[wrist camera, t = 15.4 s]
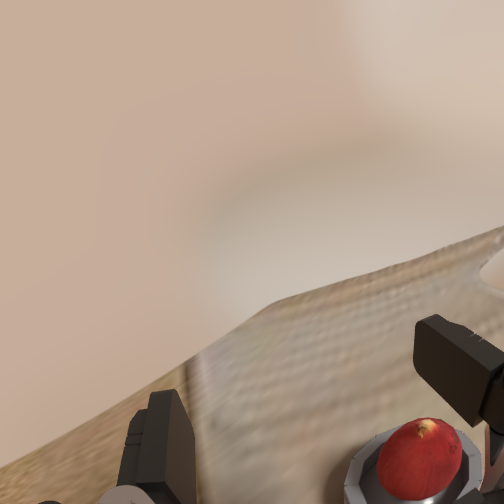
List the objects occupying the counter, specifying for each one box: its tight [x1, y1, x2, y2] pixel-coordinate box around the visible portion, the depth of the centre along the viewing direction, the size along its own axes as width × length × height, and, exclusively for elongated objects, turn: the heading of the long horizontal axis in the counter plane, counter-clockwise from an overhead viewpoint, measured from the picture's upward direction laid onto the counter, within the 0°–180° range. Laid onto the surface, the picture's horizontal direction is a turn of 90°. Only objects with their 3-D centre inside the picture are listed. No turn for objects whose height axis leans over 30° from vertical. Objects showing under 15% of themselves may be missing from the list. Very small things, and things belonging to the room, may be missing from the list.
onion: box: [376, 418, 462, 501], centre depth 15 cm, size 6×6×8 cm
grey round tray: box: [344, 424, 482, 504], centre depth 15 cm, size 10×10×2 cm
